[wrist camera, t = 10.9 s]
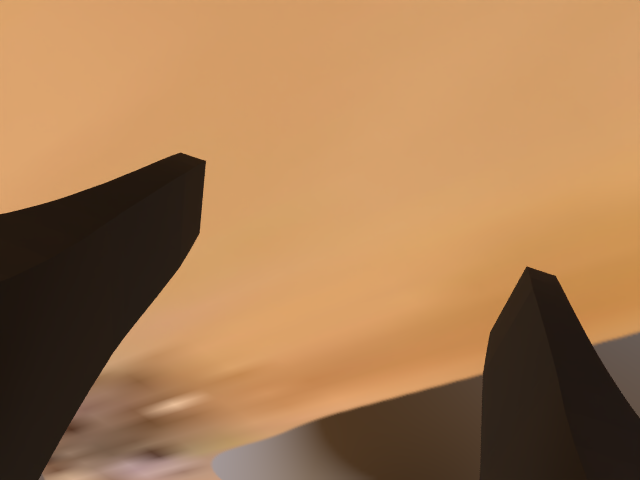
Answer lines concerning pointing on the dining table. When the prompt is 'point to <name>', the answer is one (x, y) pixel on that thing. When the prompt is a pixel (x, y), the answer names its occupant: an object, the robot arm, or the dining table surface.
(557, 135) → the dining table surface
